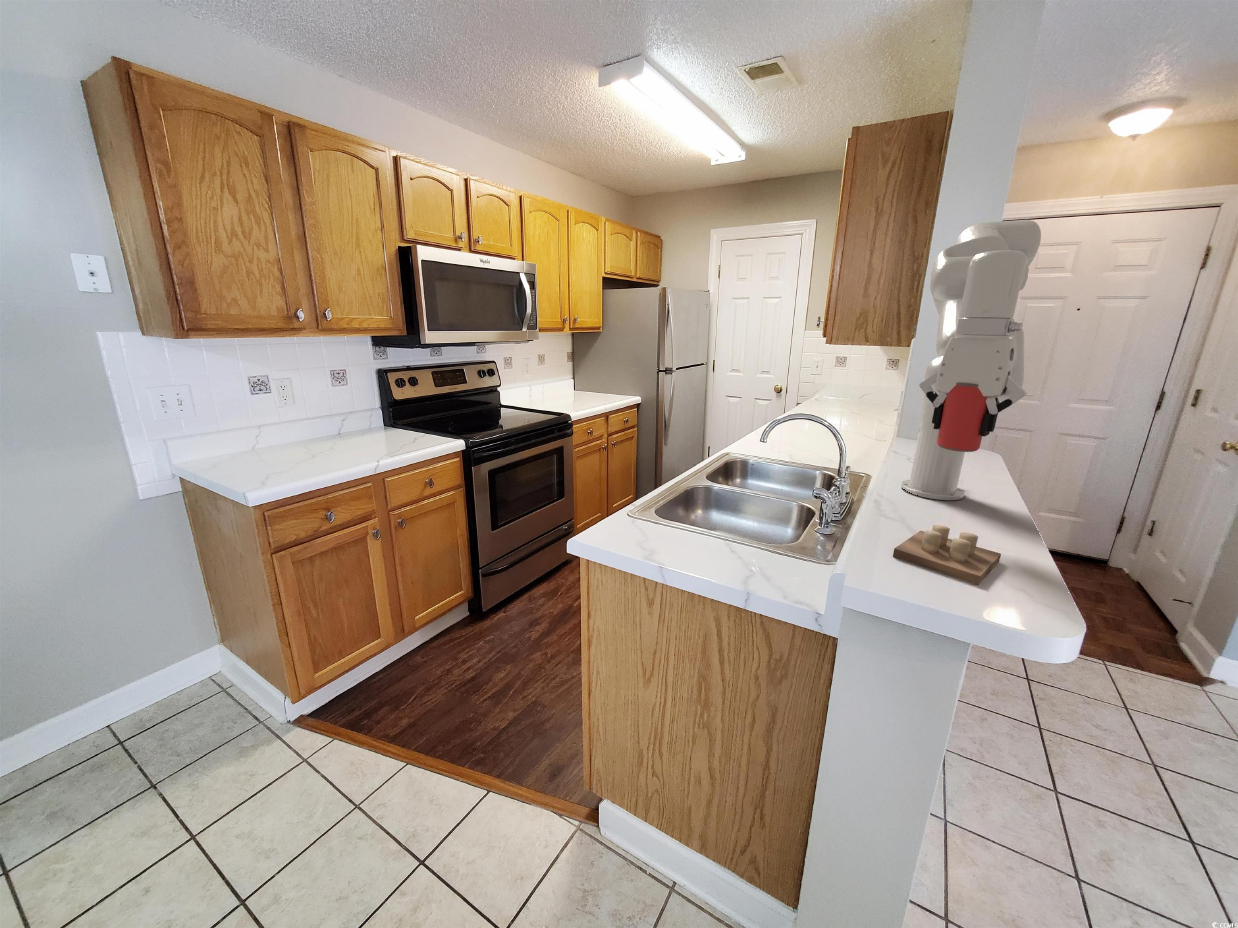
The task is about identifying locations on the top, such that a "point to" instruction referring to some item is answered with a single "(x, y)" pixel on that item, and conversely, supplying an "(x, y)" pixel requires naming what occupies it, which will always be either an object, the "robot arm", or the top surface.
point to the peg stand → (948, 554)
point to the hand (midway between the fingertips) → (960, 430)
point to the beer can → (962, 418)
